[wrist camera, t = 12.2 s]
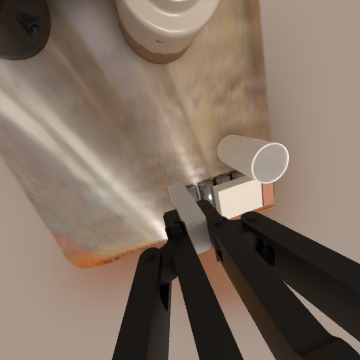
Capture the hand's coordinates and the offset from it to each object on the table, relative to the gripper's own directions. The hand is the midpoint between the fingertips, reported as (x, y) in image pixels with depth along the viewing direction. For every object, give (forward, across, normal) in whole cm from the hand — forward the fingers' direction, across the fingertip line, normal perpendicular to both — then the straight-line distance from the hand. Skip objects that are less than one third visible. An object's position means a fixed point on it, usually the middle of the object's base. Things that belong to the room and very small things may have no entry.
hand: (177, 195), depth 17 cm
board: (+24, +18, -18) cm, 35 cm away
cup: (+29, +20, -6) cm, 36 cm away
